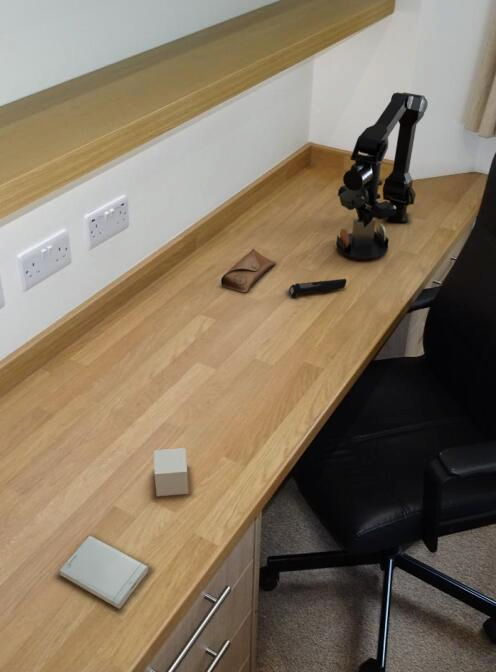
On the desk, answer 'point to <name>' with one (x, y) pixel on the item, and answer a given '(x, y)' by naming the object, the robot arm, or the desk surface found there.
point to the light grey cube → (170, 472)
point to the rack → (363, 241)
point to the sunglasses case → (246, 271)
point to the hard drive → (104, 571)
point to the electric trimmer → (316, 287)
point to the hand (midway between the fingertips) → (363, 227)
